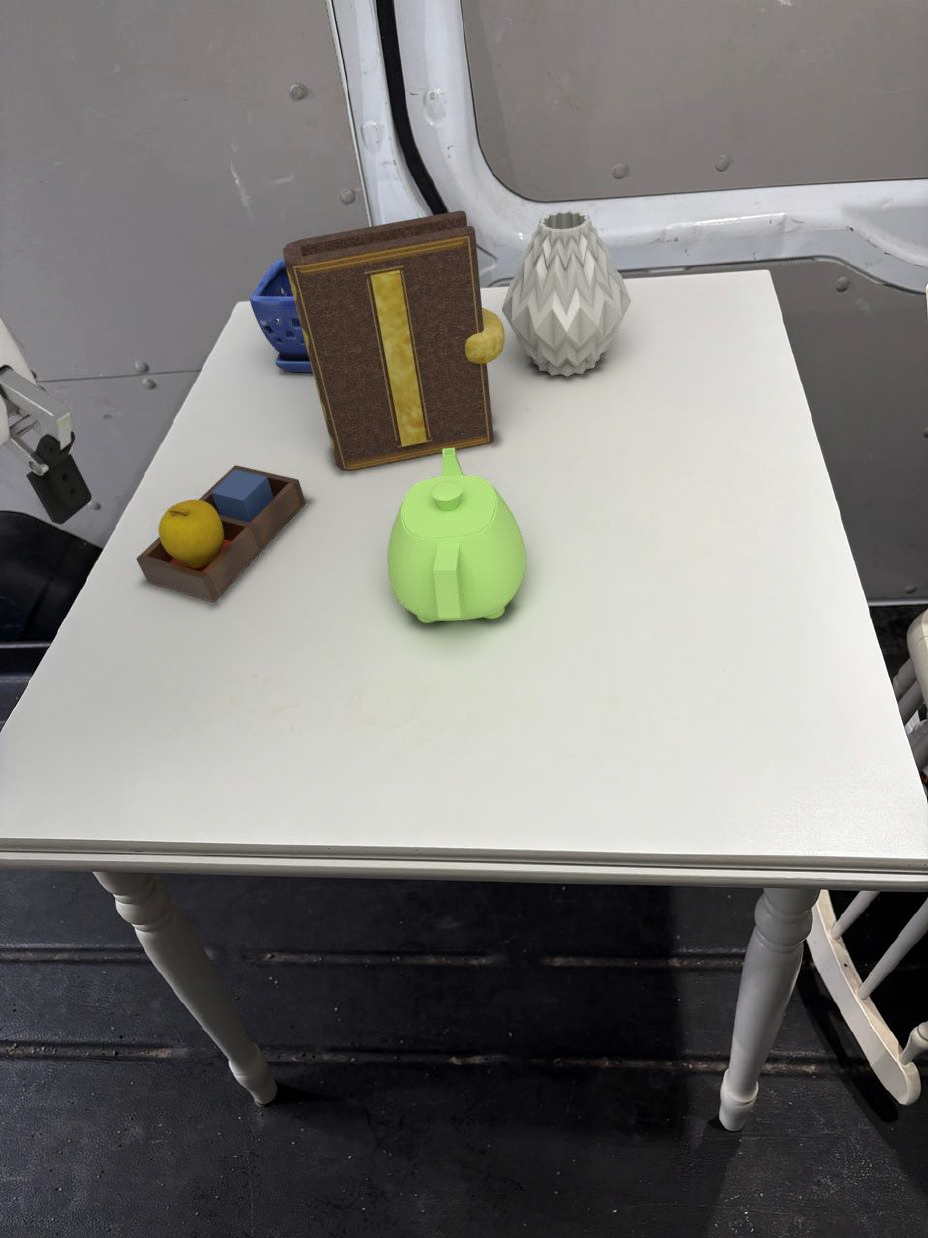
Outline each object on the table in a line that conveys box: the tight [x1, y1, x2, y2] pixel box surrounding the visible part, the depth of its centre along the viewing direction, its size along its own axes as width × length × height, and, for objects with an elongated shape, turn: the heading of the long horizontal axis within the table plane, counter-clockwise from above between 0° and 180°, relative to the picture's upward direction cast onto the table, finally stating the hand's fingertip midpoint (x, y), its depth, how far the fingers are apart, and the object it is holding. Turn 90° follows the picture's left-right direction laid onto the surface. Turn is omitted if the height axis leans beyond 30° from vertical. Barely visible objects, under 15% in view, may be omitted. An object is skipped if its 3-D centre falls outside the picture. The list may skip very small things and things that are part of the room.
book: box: [282, 210, 506, 472], centre depth 94 cm, size 22×8×25 cm, turn 101°
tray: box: [135, 464, 307, 603], centre depth 92 cm, size 17×9×3 cm, turn 154°
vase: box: [501, 209, 632, 378], centre depth 106 cm, size 16×16×18 cm
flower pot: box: [249, 258, 313, 373], centre depth 117 cm, size 13×13×12 cm
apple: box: [158, 498, 224, 568], centre depth 87 cm, size 6×6×8 cm
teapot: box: [387, 448, 527, 624], centre depth 80 cm, size 20×13×13 cm
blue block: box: [211, 470, 274, 523], centre depth 94 cm, size 4×4×4 cm
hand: (22, 497), depth 58 cm, fingers open, 9 cm apart
